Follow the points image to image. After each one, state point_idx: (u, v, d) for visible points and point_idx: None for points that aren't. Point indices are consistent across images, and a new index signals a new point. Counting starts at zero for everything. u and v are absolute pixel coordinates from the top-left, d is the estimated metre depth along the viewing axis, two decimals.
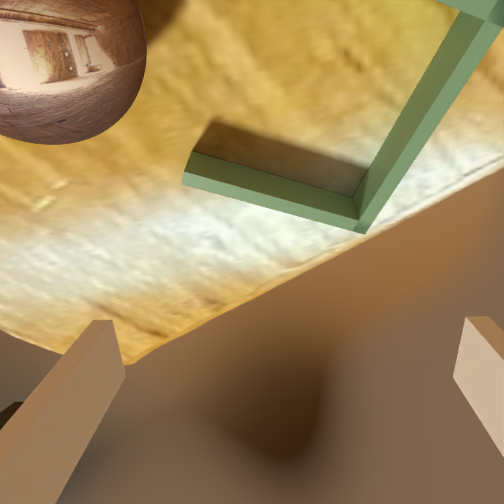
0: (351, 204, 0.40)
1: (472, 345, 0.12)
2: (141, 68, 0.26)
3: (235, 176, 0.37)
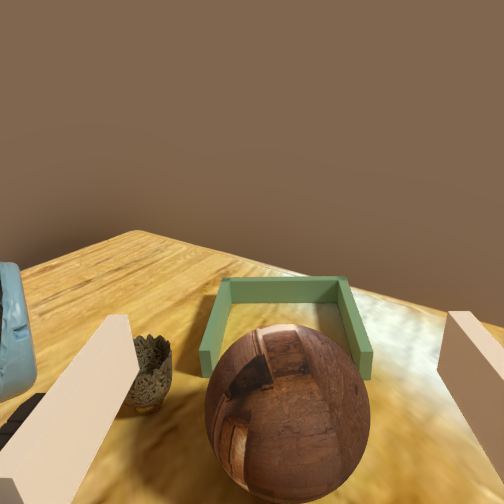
0: (337, 295, 0.62)
1: (453, 339, 0.12)
2: None
3: (352, 338, 0.49)
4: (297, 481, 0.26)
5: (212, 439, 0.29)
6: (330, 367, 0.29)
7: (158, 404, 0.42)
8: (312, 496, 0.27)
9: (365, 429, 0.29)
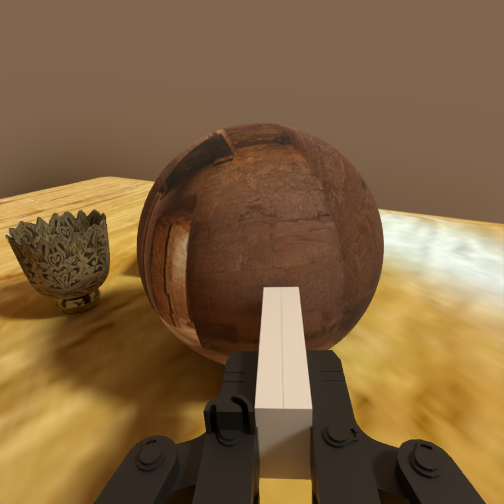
0: None
1: None
2: None
3: None
4: None
5: (143, 270, 0.19)
6: (323, 147, 0.18)
7: (90, 299, 0.31)
8: None
9: (378, 244, 0.19)
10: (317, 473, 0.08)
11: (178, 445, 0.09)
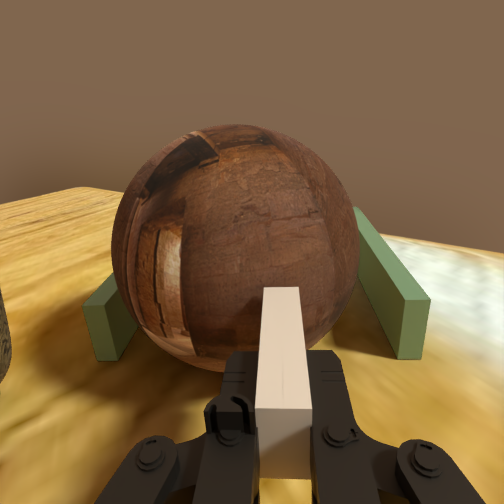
0: None
1: None
2: None
3: (379, 286, 0.27)
4: None
5: (125, 281, 0.18)
6: (301, 146, 0.19)
7: None
8: None
9: (357, 237, 0.20)
10: (317, 473, 0.08)
11: (178, 445, 0.09)
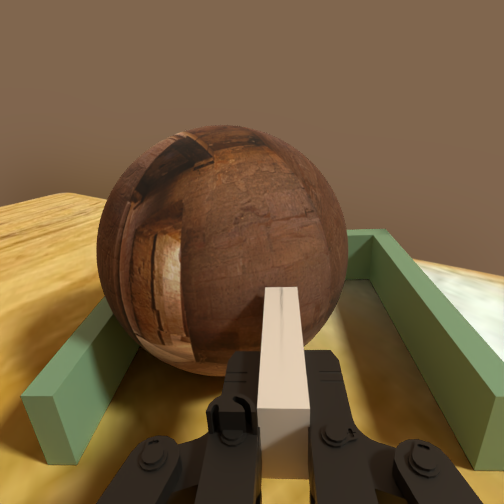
0: (371, 265, 0.33)
1: None
2: None
3: (435, 351, 0.20)
4: None
5: (117, 289, 0.17)
6: (290, 147, 0.19)
7: None
8: None
9: (346, 234, 0.20)
10: (315, 473, 0.08)
11: (180, 445, 0.09)
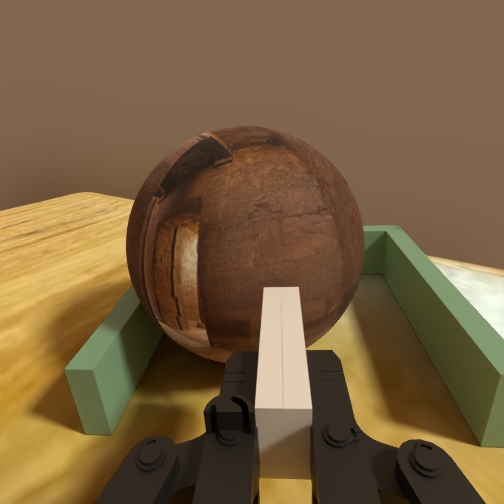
0: (384, 260, 0.34)
1: None
2: None
3: (445, 338, 0.21)
4: None
5: (142, 277, 0.19)
6: (308, 147, 0.20)
7: None
8: (305, 325, 0.18)
9: (362, 233, 0.20)
10: (317, 473, 0.08)
11: (178, 445, 0.09)
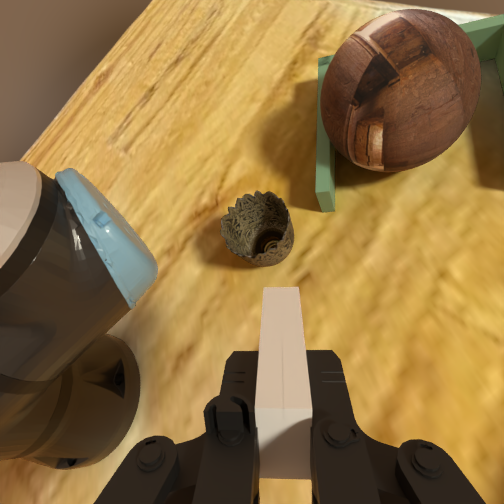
0: (498, 48, 0.41)
1: None
2: None
3: None
4: (429, 145, 0.33)
5: (345, 145, 0.35)
6: (448, 39, 0.29)
7: None
8: (437, 154, 0.35)
9: (480, 86, 0.32)
10: (317, 473, 0.08)
11: (178, 445, 0.09)
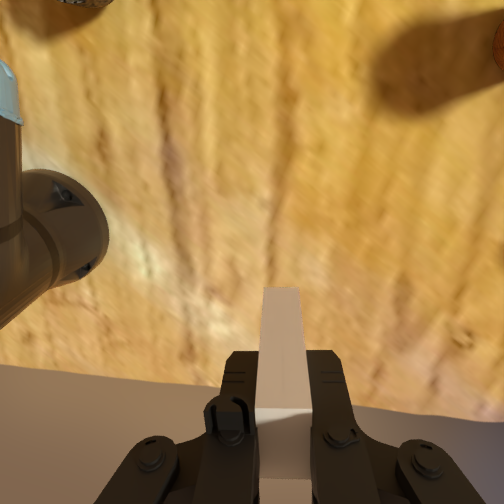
0: None
1: None
2: None
3: None
4: None
5: None
6: None
7: None
8: None
9: None
10: (317, 473, 0.08)
11: (178, 445, 0.09)
